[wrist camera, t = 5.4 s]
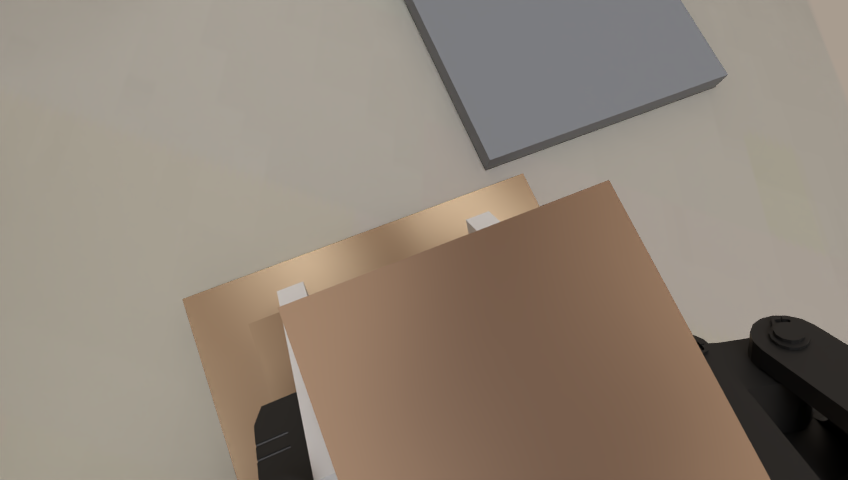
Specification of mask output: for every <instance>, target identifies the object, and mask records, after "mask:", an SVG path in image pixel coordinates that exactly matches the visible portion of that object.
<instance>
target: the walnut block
mask: <svg viewBox="0 0 848 480" xmlns="http://www.w3.org/2000/svg"><path fill="white" fill-rule="evenodd" d="M278 310H279V313H280V316H281V319H282V321H283V324H284V327H285V330H286V333H287V336H288V339H289V341H290V344H291V347H292V350H293V353H294V356H295V359H296V362H297V364H298V367H299V370H300V373H301V376H302V379H303V382H304V384H305V387H306V390H307V393H308V396H309V399H310V402H311V404H312V407H313V410H314V413H315V416H316V419H317V422H318V424H319V427H320V430H321V433H322V436H323V439H324V442H325V445H326V447H327V450H328V453H329V456H330V459H331V462H332V465H333V467H334V470H335V473H336V476H337V479H338V480H771V479H770V478H769V476H768V474H767V472H766V470H765V468H764V466H763V465H762V463H761V461H760V459H759V457H758V455H757V453H756V452H755V450H754V448H753V446H752V444H751V442H750V441H749V439H748V437H747V435H746V433H745V431H744V429H743V428H742V426H741V424H740V422H739V420H738V418H737V416H736V415H735V413H734V411H733V409H732V407H731V405H730V403H729V402H728V400H727V398H726V396H725V394H724V392H723V390H722V389H721V387H720V385H719V383H718V381H717V379H716V378H715V376H714V374H713V372H712V370H711V368H710V366H709V365H708V363H707V361H706V359H705V357H704V355H703V353H702V352H701V350H700V348H699V346H698V344H697V342H696V340H695V339H694V337H693V335H692V333H691V331H690V329H689V328H688V326H687V324H686V322H685V320H684V318H683V316H682V315H681V313H680V311H679V309H678V307H677V305H676V303H675V302H674V300H673V298H672V296H671V294H670V292H669V290H668V289H667V287H666V285H665V283H664V281H663V279H662V277H661V276H660V274H659V272H658V270H657V268H656V266H655V265H654V263H653V261H652V259H651V257H650V255H649V253H648V252H647V250H646V248H645V246H644V244H643V242H642V240H641V239H640V237H639V235H638V233H637V231H636V229H635V227H634V226H633V224H632V222H631V220H630V218H629V216H628V214H627V213H626V211H625V209H624V207H623V205H622V203H621V202H620V200H619V198H618V196H617V194H616V192H615V190H614V189H613V187H612V185H611V183H610V181H609V180H608V181H605V182H603V183H600V184H597V185H595V186H592V187H590V188H587V189H584V190H582V191H579V192H577V193H574V194H571V195H569V196H566V197H564V198H561V199H558V200H556V201H553V202H551V203H548V204H545V205H543V206H540V207H538V208H535V209H532V210H530V211H527V212H525V213H522V214H519V215H517V216H514V217H512V218H509V219H506V220H504V221H501V222H499V223H496V224H493V225H491V226H488V227H486V228H483V229H480V230H478V231H475V232H473V233H470V234H467V235H465V236H462V237H460V238H457V239H454V240H452V241H449V242H447V243H444V244H441V245H439V246H436V247H434V248H431V249H428V250H426V251H423V252H421V253H418V254H415V255H413V256H410V257H408V258H405V259H402V260H400V261H397V262H395V263H392V264H389V265H387V266H384V267H382V268H379V269H376V270H374V271H371V272H369V273H366V274H363V275H361V276H358V277H356V278H353V279H350V280H348V281H345V282H343V283H340V284H337V285H335V286H332V287H330V288H327V289H324V290H322V291H319V292H317V293H314V294H311V295H309V296H306V297H304V298H301V299H298V300H296V301H293V302H291V303H288V304H285V305H283V306H280V307H278Z"/></svg>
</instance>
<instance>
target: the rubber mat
mask: <svg viewBox="0 0 848 480" xmlns="http://www.w3.org/2000/svg"><path fill="white" fill-rule="evenodd" d="M404 1H405V3H406V5H407V7H408V9H409V11H410V14H411V16H412V18H413V20H414V22H415V24H416V26H417V28H418V30H419V32H420V34H421V36H422V39H423V41H424V43H425V45H426V47H427V49H428V51H429V53H430V55H431V57H432V59H433V62H434V64H435V66H436V68H437V70H438V72H439V74H440V76H441V78H442V80H443V82H444V84H445V87H446V89H447V91H448V93H449V95H450V97H451V99H452V101H453V103H454V105H455V107H456V110H457V112H458V114H459V116H460V118H461V120H462V122H463V124H464V126H465V128H466V130H467V132H468V135H469V137H470V139H471V141H472V143H473V145H474V147H475V149H476V151H477V153H478V155H479V157H480V160H481V162H482V164H483V166H484V168H485V170H487V169H490V168H493V167H496V166H498V165H501V164H504V163H507V162H509V161H512V160H515V159H518V158H520V157H523V156H526V155H529V154H531V153H534V152H537V151H540V150H542V149H545V148H548V147H551V146H553V145H556V144H559V143H562V142H564V141H567V140H570V139H573V138H576V137H578V136H581V135H584V134H587V133H589V132H592V131H595V130H598V129H600V128H603V127H606V126H609V125H611V124H614V123H617V122H620V121H622V120H625V119H628V118H631V117H633V116H636V115H639V114H642V113H644V112H647V111H650V110H653V109H655V108H658V107H661V106H664V105H666V104H669V103H672V102H675V101H677V100H680V99H683V98H686V97H689V96H691V95H694V94H697V93H700V92H702V91H705V90H708V89H711V88H713V87H715V86H716V85H717V84H718V83H719V82H721V81H722V80H723V79H724V78H725V77H726V76H727V75H728V74H727V73H726V71H725V69H724V68H723V66H722V65H721V63H720V62H719V60H718V58H717V57H716V55H715V54H714V52H713V50H712V49H711V47H710V46H709V44H708V43H707V41H706V39H705V38H704V36H703V35H702V33H701V32H700V30H699V28H698V27H697V25H696V24H695V22H694V20H693V19H692V17H691V16H690V14H689V13H688V11H687V9H686V8H685V6H684V5H683V3H682V2H681V0H404Z"/></svg>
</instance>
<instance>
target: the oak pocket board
mask: <svg viewBox="0 0 848 480" xmlns="http://www.w3.org/2000/svg"><path fill="white" fill-rule="evenodd" d="M538 207H539V205H538V203H537V201H536V199H535V197H534V195H533V193H532V191H531V189H530V187H529V185H528V183H527V181H526V179H525V177H524V175H523V174H520V175H518V176H515V177H512V178H509V179H507V180H504V181H501V182H499V183H496V184H493V185H490V186H488V187H485V188H482V189H480V190H477V191H474V192H471V193H469V194H466V195H463V196H461V197H458V198H455V199H453V200H450V201H447V202H444V203H442V204H439V205H436V206H434V207H431V208H428V209H425V210H423V211H420V212H417V213H415V214H412V215H409V216H406V217H404V218H401V219H398V220H396V221H393V222H390V223H388V224H385V225H382V226H379V227H377V228H374V229H371V230H369V231H366V232H363V233H360V234H358V235H355V236H352V237H350V238H347V239H344V240H341V241H339V242H336V243H333V244H331V245H328V246H325V247H323V248H320V249H317V250H314V251H312V252H309V253H306V254H304V255H301V256H298V257H295V258H293V259H290V260H287V261H285V262H282V263H279V264H276V265H274V266H271V267H268V268H266V269H263V270H260V271H258V272H255V273H252V274H249V275H247V276H244V277H241V278H239V279H236V280H233V281H230V282H228V283H225V284H222V285H220V286H217V287H214V288H211V289H209V290H206V291H203V292H201V293H198V294H195V295H193V296H190V297H187V298H184V299H183V303H184V306H185V309H186V313H187V316H188V319H189V322H190V326H191V329H192V332H193V336H194V339H195V342H196V345H197V349H198V352H199V355H200V358H201V362H202V365H203V368H204V372H205V375H206V378H207V381H208V385H209V388H210V391H211V395H212V398H213V401H214V404H215V408H216V411H217V414H218V418H219V421H220V424H221V427H222V431H223V434H224V437H225V440H226V444H227V447H228V450H229V454H230V457H231V460H232V463H233V467H234V470H235V473H236V477H237V480H259V479H258V468H257V463H258V461H257V456H256V445H255V434H254V424H255V422H256V419H257V416H258V414H259V411H260V408H261V406H263V405H266V404H268V403H271V402H273V401H275V400H278V399H280V398H283V397H285V396H287V395H290V394H292V393H295V392H296V387H295V382H294V376H293V371H292V366H291V361H290V356H289V351H288V346H287V341H286V336H285V330H284V325H283V321H282V319H281V316H280V313H279V310H278V307H280V305H279V300H278V295H277V291H279V290H282V289H284V288H287V287H290V286H292V285H295V284H297V283H300V282H304V285H305V287H306V290H307V292H308V294H309V295H311V294H314V293H317V292H319V291H322V290H324V289H327V288H330V287H332V286H335V285H337V284H340V283H343V282H345V281H348V280H350V279H353V278H356V277H358V276H361V275H363V274H366V273H369V272H371V271H374V270H376V269H379V268H382V267H384V266H387V265H389V264H392V263H395V262H397V261H400V260H402V259H405V258H408V257H410V256H413V255H415V254H418V253H421V252H423V251H426V250H428V249H431V248H434V247H436V246H439V245H441V244H444V243H447V242H449V241H452V240H454V239H457V238H460V237H462V236H465V235H467V234H469V233H468V228H467V223H466V219H469V218H472V217H474V216H477V215H480V214H482V213H485V212H488V211H489V212H490V213H491V214H492V215H494V216H495V217H496V218H497V219H498V220H499V221H500V222H501V221H504V220H506V219H509V218H512V217H514V216H517V215H519V214H522V213H525V212H527V211H530V210H532V209H535V208H538Z"/></svg>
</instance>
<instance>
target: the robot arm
mask: <svg viewBox="0 0 848 480" xmlns="http://www.w3.org/2000/svg"><path fill="white" fill-rule="evenodd" d="M499 222H500V221H499V220H498V219H497V218H496V217H495V216H494V215H492V214H491V213H490V212H489V211H488V212H485V213H482V214H480V215H477V216H474V217H472V218H469V219H466V223H467V228H468V233H469V234H470V233H473V232H475V231H478V230H480V229H483V228H486V227H488V226H491V225H493V224H496V223H499ZM277 295H278V300H279V305H280V306H283V305H285V304H288V303H291V302H293V301H296V300H298V299H301V298H304V297H306V296H309V294H308V292H307V290H306V287H305V285H304V282H300V283H297V284H295V285H292V286H290V287H287V288H284V289H282V290H279V291H277ZM283 325H284V324H283ZM284 330H285V327H284ZM285 336H286V341H287V346H288V351H289V356H290V361H291V366H292V371H293V376H294V382H295V387H296V392H295V393H292V394H290V395H287V396H285V397H283V398H280V399H278V400H275V401H273V402H271V403H268V404H266V405H263V406H261V408H260V411H259V414H258V416H257V419H256V422H255V424H254V434H255V445H256V456H257V461H258V463H257V468H258V479H259V480H338V479H337V476H336V473H335V470H334V467H333V465H332V462H331V459H330V456H329V453H328V450H327V447H326V445H325V442H324V439H323V436H322V433H321V430H320V427H319V424H318V422H317V419H316V416H315V413H314V410H313V407H312V404H311V402H310V399H309V396H308V393H307V390H306V387H305V384H304V382H303V379H302V376H301V373H300V370H299V367H298V364H297V362H296V359H295V356H294V353H293V350H292V347H291V344H290V341H289V339H288V336H287V333H286V330H285ZM693 337H694V339H695V340H696V342H697V344H698V346H699V348H700V350H701V352H702V353H703V355H704V357H705V359H706V361H707V363H708V365H709V366H710V368H711V370H712V372H713V374H714V376H715V378H716V379H717V381H718V383H719V385H720V387H721V389H722V390H723V392H724V394H725V396H726V398H727V400H728V402H729V403H730V405H731V407H732V409H733V411H734V413H735V415H736V416H737V418H738V420H739V422H740V424H741V426H742V428H743V429H744V431H745V433H746V435H747V437H748V439H749V441H750V442H751V444H752V446H753V448H754V450H755V452H756V453H757V455H758V457H759V459H760V461H761V463H762V465H763V466H764V468H765V470H766V472H767V474H768V476H769V478H770V479H771V480H848V345H847V344H845V343H843V342H842V341H840V340H838V339H837V338H835V337H834V336H832V335H830V334H829V333H827V332H825V331H824V330H822V329H820V328H819V327H817V326H815V325H814V324H811V323H809V322H807V321H805V320H803V319H799V318H795V317H790V316H770V317H766V318H762V319H760V320H758V321H757V322H756V323H754V324H753V326H752V328H751V331H750V338H747V339H741V340H734V341H728V342H721V343H709V344H708V343H707V342H706V341H705V340H704V339H701V338H699V337H697V336H694V335H693Z"/></svg>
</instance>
